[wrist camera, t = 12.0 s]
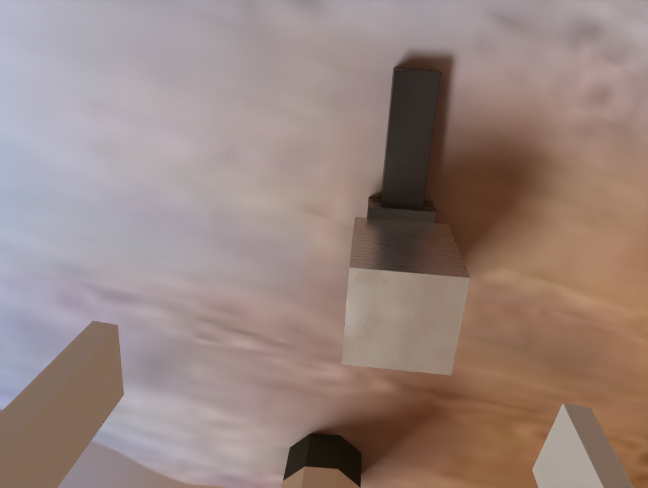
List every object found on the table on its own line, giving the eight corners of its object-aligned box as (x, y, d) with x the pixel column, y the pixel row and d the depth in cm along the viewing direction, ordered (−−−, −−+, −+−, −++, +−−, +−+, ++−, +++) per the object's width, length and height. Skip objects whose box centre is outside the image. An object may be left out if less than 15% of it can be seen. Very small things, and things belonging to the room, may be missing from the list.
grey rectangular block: (355, 217, 36) (349, 267, 28) (448, 224, 36) (470, 278, 27) (348, 296, 39) (341, 364, 31) (434, 304, 38) (451, 375, 30)
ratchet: (379, 67, 34) (380, 72, 28) (451, 71, 34) (467, 76, 28) (360, 292, 42) (358, 334, 36) (418, 298, 41) (426, 340, 35)
